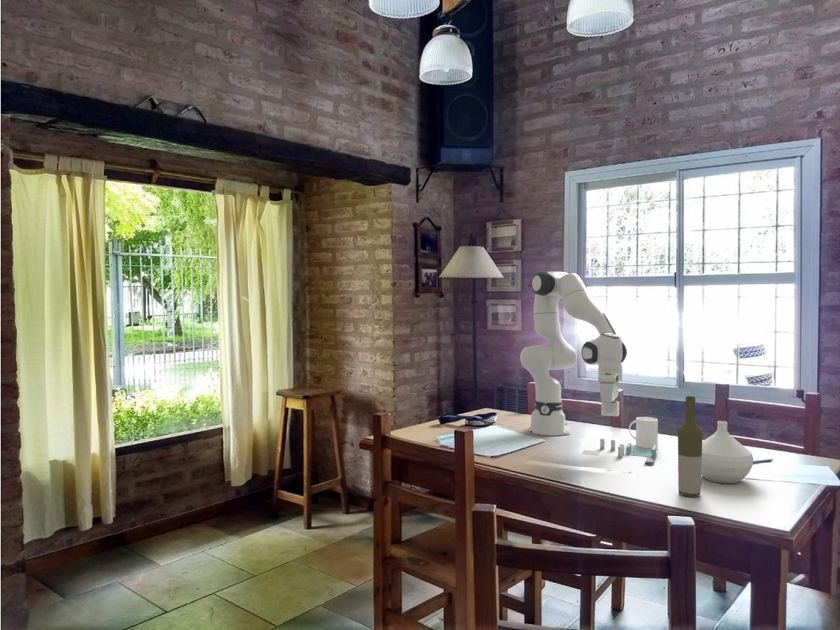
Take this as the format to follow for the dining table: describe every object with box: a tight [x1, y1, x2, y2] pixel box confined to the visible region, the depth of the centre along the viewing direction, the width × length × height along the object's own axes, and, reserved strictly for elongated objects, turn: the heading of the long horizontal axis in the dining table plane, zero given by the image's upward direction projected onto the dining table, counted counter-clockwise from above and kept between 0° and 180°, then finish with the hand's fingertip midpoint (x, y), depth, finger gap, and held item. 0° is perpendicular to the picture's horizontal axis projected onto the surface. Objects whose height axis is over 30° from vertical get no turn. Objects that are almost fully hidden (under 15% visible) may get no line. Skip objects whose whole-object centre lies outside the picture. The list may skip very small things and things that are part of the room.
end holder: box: [625, 442, 657, 458], centre depth 233 cm, size 7×10×3 cm
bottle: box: [677, 396, 704, 498], centre depth 188 cm, size 7×7×30 cm
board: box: [581, 438, 658, 466], centre depth 234 cm, size 15×26×5 cm, turn 65°
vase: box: [701, 420, 754, 484], centre depth 204 cm, size 18×18×19 cm
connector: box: [600, 400, 620, 417], centre depth 237 cm, size 4×6×5 cm, turn 65°
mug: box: [628, 416, 659, 452], centre depth 247 cm, size 12×8×12 cm
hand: (610, 411), depth 237 cm, fingers closed on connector, 4 cm apart
